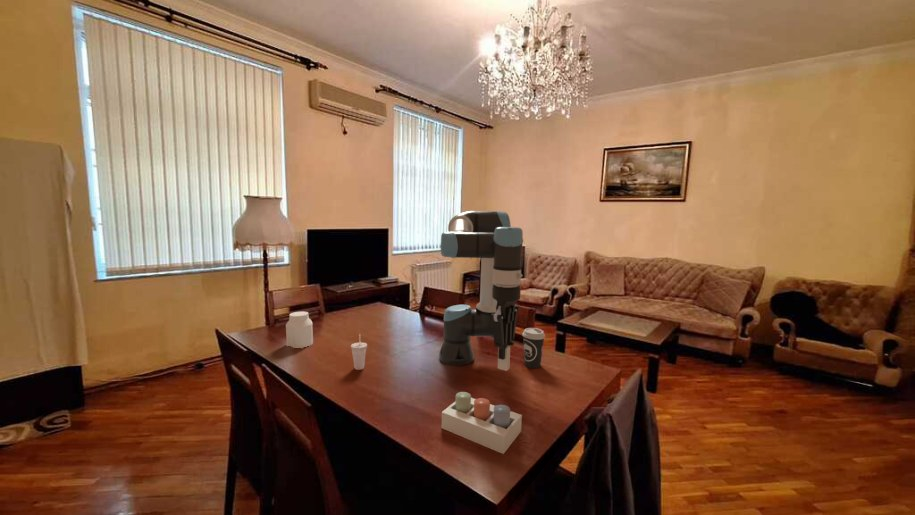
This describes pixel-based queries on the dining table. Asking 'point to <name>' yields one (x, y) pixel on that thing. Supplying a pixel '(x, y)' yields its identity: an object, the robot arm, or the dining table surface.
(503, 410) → the button slate
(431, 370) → the dining table surface
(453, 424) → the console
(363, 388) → the dining table surface
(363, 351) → the smoothie
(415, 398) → the dining table surface
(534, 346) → the coffee cup
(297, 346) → the jar
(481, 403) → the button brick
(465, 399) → the button sage
